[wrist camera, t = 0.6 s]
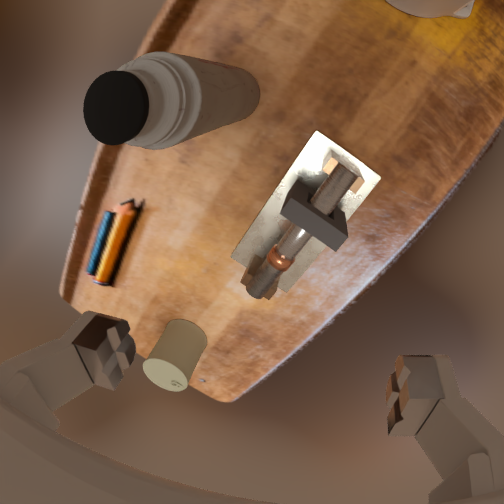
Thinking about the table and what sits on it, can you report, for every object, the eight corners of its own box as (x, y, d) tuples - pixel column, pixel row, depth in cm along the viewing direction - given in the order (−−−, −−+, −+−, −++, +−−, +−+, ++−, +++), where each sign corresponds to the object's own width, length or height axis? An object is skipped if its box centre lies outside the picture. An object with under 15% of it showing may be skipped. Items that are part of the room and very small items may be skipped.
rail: (316, 129, 41) (314, 137, 34) (380, 176, 42) (391, 194, 35) (231, 254, 53) (216, 281, 46) (287, 289, 54) (280, 321, 47)
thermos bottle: (211, 62, 39) (74, 44, 15) (266, 74, 39) (178, 51, 15) (199, 114, 43) (61, 155, 19) (251, 127, 43) (153, 181, 19)
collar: (297, 179, 42) (291, 197, 35) (344, 212, 43) (348, 237, 36) (287, 192, 44) (279, 213, 37) (334, 225, 44) (335, 251, 37)
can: (194, 357, 68) (175, 399, 57) (159, 334, 66) (135, 373, 56) (215, 337, 63) (195, 381, 53) (177, 311, 62) (150, 352, 52)
